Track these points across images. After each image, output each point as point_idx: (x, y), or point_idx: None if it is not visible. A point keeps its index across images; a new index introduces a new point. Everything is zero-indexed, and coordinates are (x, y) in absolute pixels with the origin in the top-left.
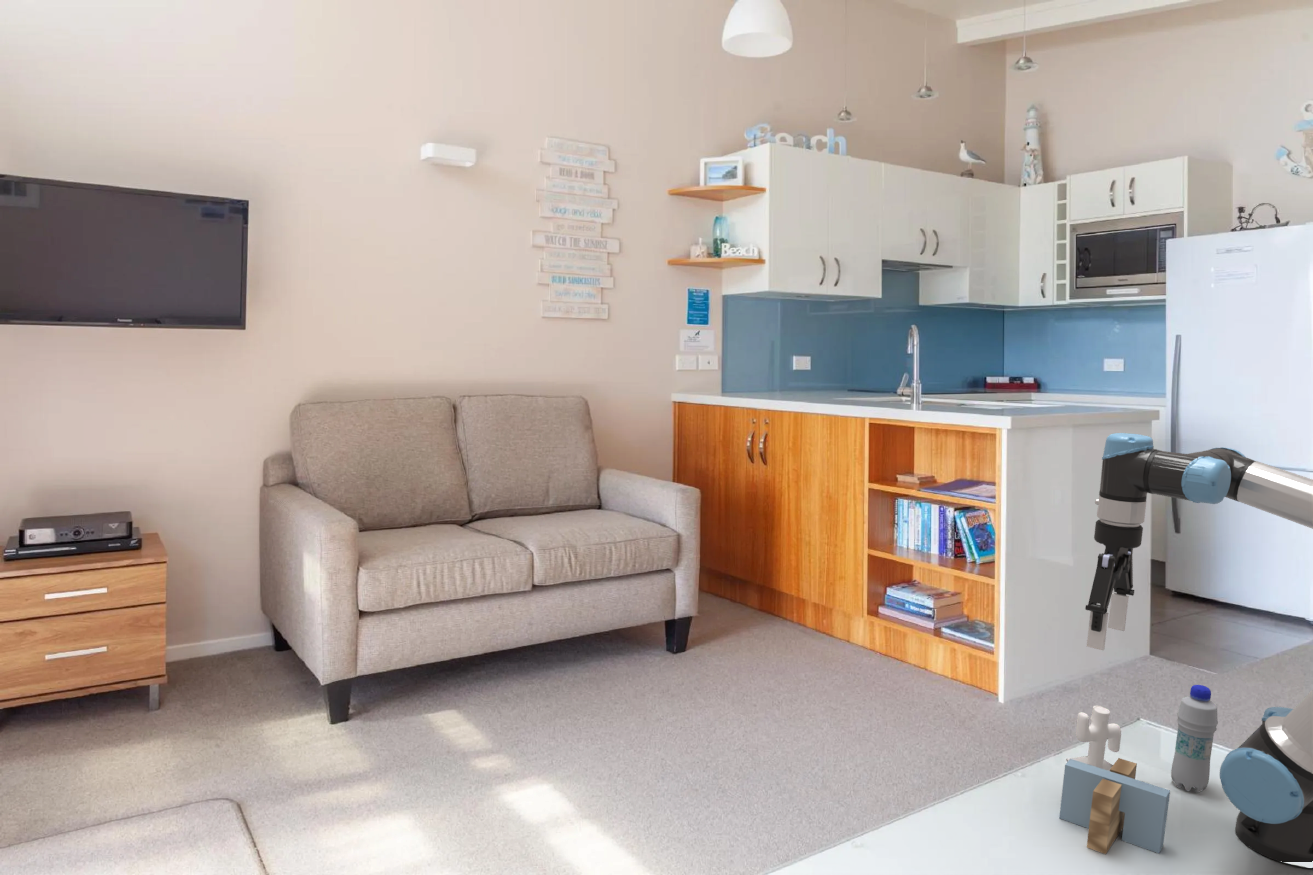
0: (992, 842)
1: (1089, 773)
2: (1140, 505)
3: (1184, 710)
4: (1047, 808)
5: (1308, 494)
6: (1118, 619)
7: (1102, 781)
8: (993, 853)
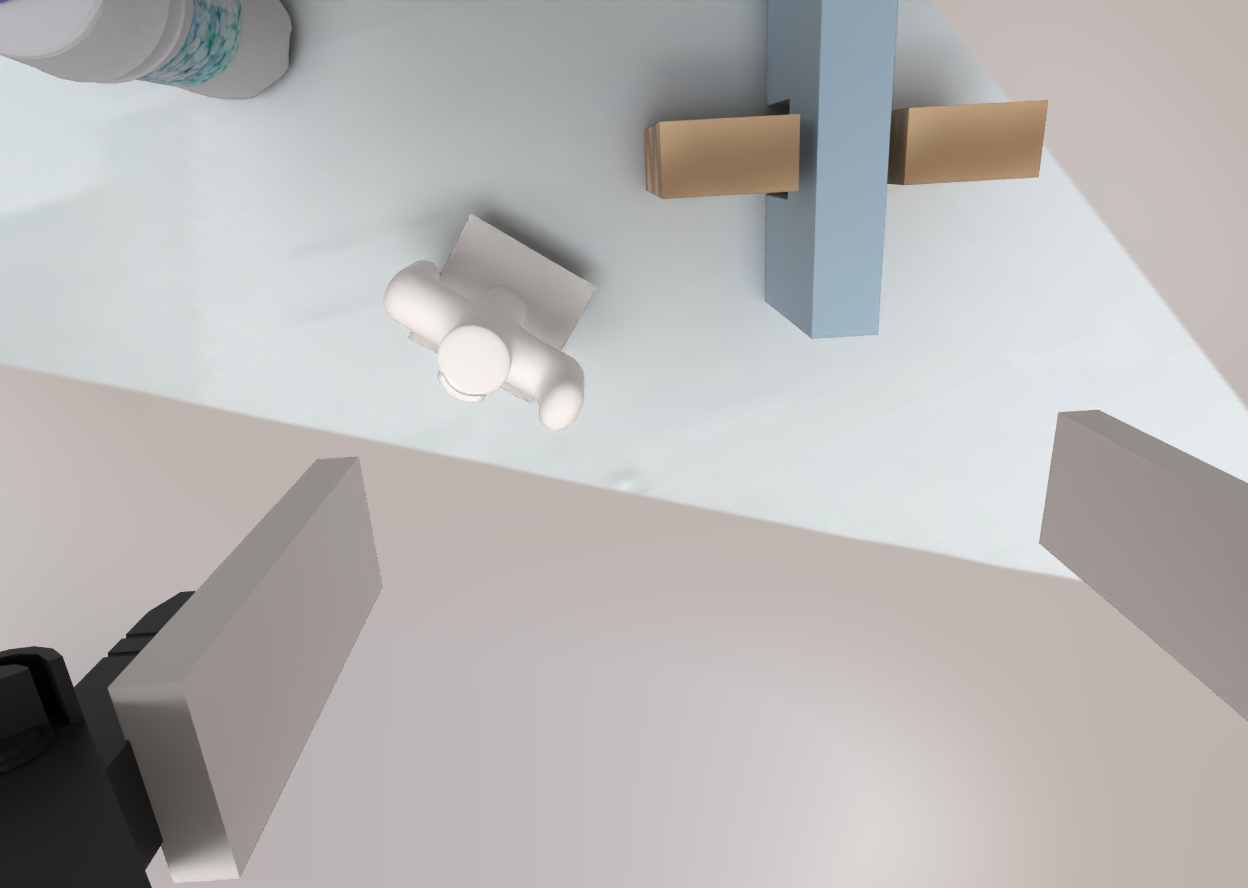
0: (1077, 381)
1: (881, 241)
2: None
3: (126, 23)
4: (781, 344)
5: None
6: (337, 561)
7: (929, 177)
8: (1133, 356)
